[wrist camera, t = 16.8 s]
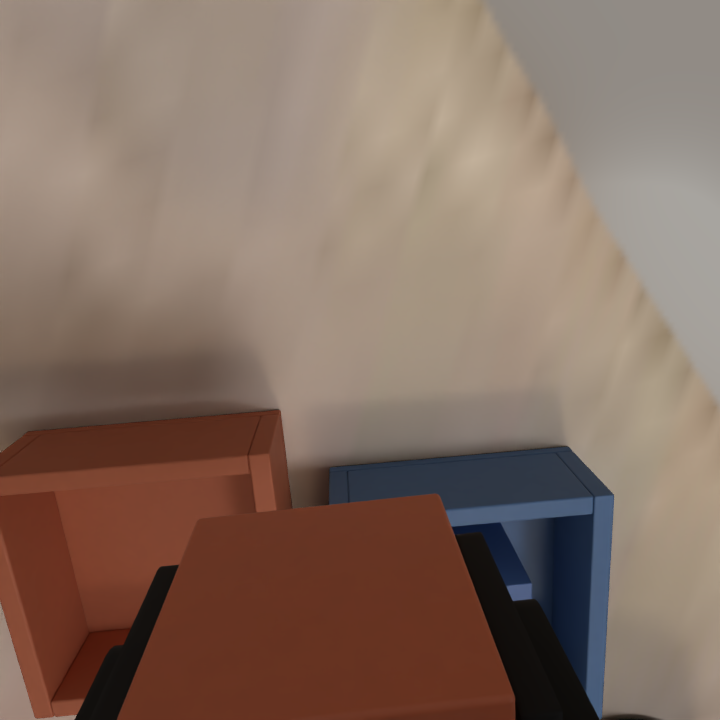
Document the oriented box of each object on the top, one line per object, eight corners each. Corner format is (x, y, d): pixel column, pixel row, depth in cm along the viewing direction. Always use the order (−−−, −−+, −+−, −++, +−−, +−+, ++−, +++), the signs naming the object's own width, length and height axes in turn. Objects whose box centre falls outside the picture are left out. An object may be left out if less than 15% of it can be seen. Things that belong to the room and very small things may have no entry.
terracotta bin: (80, 639, 28) (34, 720, 24) (27, 431, 25) (-38, 480, 20) (305, 617, 28) (300, 694, 24) (280, 409, 25) (269, 453, 21)
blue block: (409, 609, 28) (423, 686, 23) (404, 529, 26) (418, 593, 22) (500, 601, 28) (531, 675, 23) (500, 520, 26) (532, 583, 22)
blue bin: (348, 663, 29) (351, 744, 25) (329, 467, 26) (328, 520, 22) (562, 642, 29) (602, 719, 25) (568, 445, 26) (614, 494, 22)
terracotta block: (233, 708, 12) (177, 1011, 7) (196, 517, 10) (102, 746, 6) (449, 683, 12) (520, 966, 7) (439, 491, 10) (517, 698, 6)
